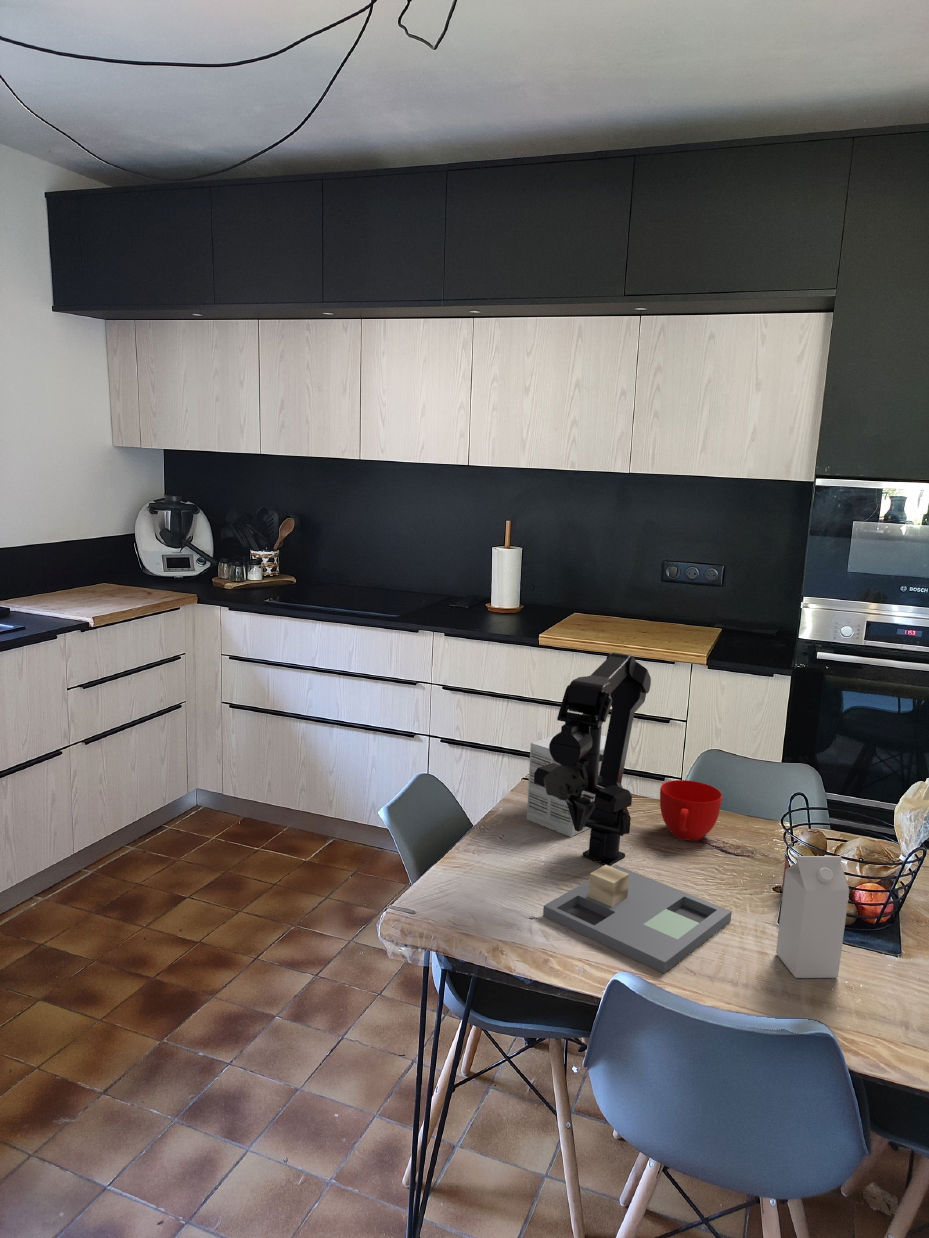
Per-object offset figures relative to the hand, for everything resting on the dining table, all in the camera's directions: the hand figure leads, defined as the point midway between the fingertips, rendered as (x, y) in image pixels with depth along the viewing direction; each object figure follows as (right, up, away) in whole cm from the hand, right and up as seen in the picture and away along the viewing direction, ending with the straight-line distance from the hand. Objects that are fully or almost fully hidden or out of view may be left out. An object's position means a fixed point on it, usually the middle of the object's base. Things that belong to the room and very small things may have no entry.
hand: (578, 830), depth 160 cm
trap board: (+9, -14, -7) cm, 18 cm away
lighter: (+43, -13, +5) cm, 46 cm away
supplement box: (+3, -6, +36) cm, 36 cm away
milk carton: (+34, -17, -19) cm, 43 cm away
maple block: (+5, -11, -4) cm, 13 cm away
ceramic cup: (+27, -9, +28) cm, 40 cm away
